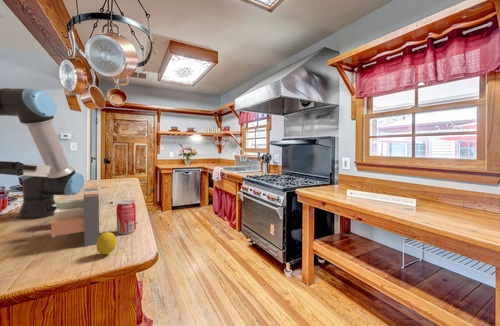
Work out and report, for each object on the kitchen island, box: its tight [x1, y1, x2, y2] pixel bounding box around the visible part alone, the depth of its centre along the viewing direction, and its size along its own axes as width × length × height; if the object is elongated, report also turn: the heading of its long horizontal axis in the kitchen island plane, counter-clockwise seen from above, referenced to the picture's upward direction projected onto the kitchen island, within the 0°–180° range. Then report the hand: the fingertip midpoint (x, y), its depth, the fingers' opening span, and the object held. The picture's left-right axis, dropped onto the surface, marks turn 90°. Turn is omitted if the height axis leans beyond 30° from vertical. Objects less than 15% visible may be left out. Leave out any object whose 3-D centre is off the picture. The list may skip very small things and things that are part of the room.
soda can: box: [115, 200, 137, 235], centre depth 96 cm, size 7×7×13 cm
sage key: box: [55, 198, 84, 210], centre depth 93 cm, size 5×13×5 cm, turn 125°
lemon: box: [96, 230, 117, 256], centre depth 75 cm, size 6×6×8 cm
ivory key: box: [53, 207, 84, 220], centre depth 88 cm, size 5×13×5 cm, turn 125°
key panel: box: [83, 187, 100, 247], centre depth 91 cm, size 20×4×19 cm, turn 35°
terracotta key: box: [50, 217, 84, 238], centre depth 82 cm, size 5×13×5 cm, turn 125°
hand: (48, 171), depth 82 cm, fingers open, 13 cm apart
